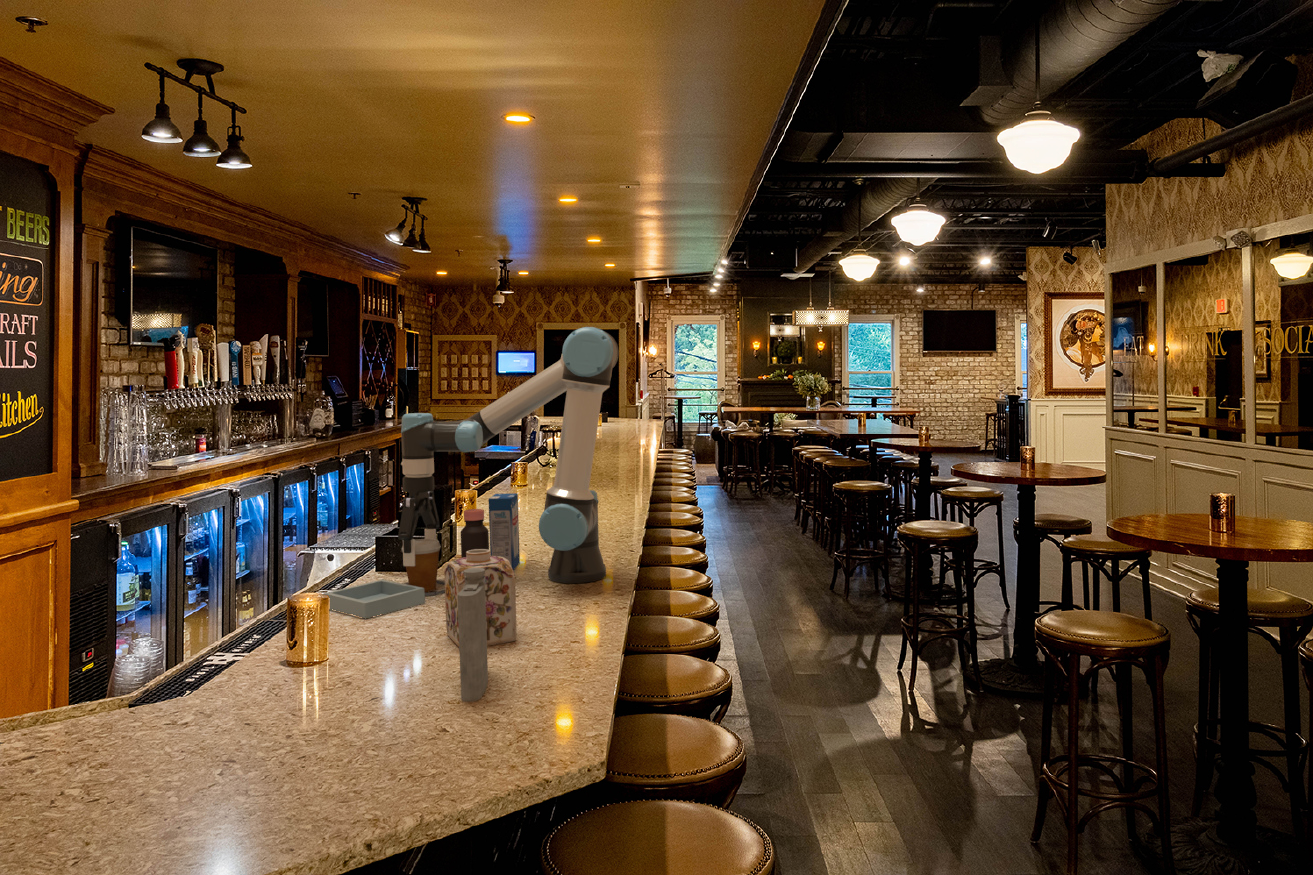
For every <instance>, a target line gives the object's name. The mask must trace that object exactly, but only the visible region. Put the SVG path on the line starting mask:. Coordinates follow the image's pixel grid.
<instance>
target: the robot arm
mask: <svg viewBox="0 0 1313 875" xmlns="http://www.w3.org/2000/svg"><path fill="white" fill-rule="evenodd" d="M561 352H562V353H561V357H560V359H559V360H558V361H556V362H555V363H553V364H552V365H550V366H548V367H547V368H545V369H544V370H542V371H540V372H539V373H537V374H536V375H534V376H533V377H531V378H529V379H527V380H526V381H524V382H523V383H522V384H520V385H518V386H517V387H516V388H513V389H512V390H510V391H509V392H507V393H506V394H504V395H503V396H501V397H500V398H498V399H496V400H494V401H493V402H492V403H490V404H488V405H487V406H485V407H484V408H482V409H481V410H479V411H478V412H476V413H474V414H473V415H471V416H470V417H468V418H466V419H462V420H455V421H454V420H451V421H439V420H434V416H433V414H432V413H428V412H426V413H424V412H414V413H412V412H411V413H405V414H403V415H402V416H401V431H400V435H401V453H402V454H401V458H402V460H401V463H400V465H401V466H402V474H403V475H404V476H403V477H402V490H403V492H405V493H408V494H409V495H408V497H404V498H403V499H402V511H401V516H400V517H401V518H400V522H399V529H398V534H397V538H398V540H401V541H402V547H403V551H402V560H403V562H402V565H403V567H406V566H415V540H416V539H415V538H413V537H414V535H415V531H416V527H417V524H418V520H419V517H420V516H421V518H422V521H423V523H424V526H425V528H424V539H434V540H437V529H440V518H439V514H438V510H437V505H436V501H435V492H434V490H435V477H434V476H433V474H434V473H435V462H434V460H435V459H434V458H435V457H434V452H436V453H437V452H449V453H450V452H453V453H455V452H457V453H459V452H461V453H471V452H478V451H479V450H480V449H481V447H482V446H483V445H484V444H486V443H487V442H488V441H489V440H490V439H492V438H494V437H495V436H496V435H498V434H499V433H501V432H503V431H504V430H506V429H507V428H509V427H510V426H512V425H514V424H515V423H517V422H520V420H522V419H524V418H525V417H527V416H528V415H530V414H531V413H534V412H535V411H536V410H537V409H539V408H541V407H543V406H544V405H546V404H547V403H549V402H550V401H553V399H555V398H557V397H558V396H560V395H562V394H563V393H565V394H566V395H565V402H564V410H563V416H562V425H561V432H560V439H559V446H558V451H557V452H558V454H557V460H556V467H555V475H554V484H553V485H552V486H551V487H549V488H548V489H547V490H546V493H545V494H546V496H545V500H544V501H545V502H544V510H543V512H542V513H541V515H540V517H539V521H538V532H539V535H540V537H541V539H542V540H543V542H545V544H546V545H547V546H549V547H550V548H552V549H553V552H552V556H551V559H550V563H549V564H550V566H548V570H547V572H548V573H547V574H548V579H549V580H550V581H552V582H556V583H562V584H582V583H584V584H585V583H591V582H596V581H601V580H602V579H604V578H606V576H607V567H606V564H605V563H604V559H603V557H602V552H601V549H600V546H599V545H600V543H599V542H600V540H599V538H600V537H599V499H598V498H599V497H598V493H597V492H596V490H591V489H590V485H591V477H592V469H593V468H592V467H593V462H594V456H595V449H596V448H595V447H596V442H597V440H596V439H597V435H598V426H599V420H600V411H601V405H602V398H603V393H604V392H605V391H607V390H608V389H609V388H610V385H611V379H612V372H613V368H614V367H615V366H616V364H617V362H618V359H619V355H620V354H619V346H618V343H617V341H616V340H615V338H614V337H613V336H612V335H611V334H610V333H608V332H607V331H605V330H603V329H601V328H599V327H594V326H584V327H581V328H577V329H575V330H573V331H572V332H571V333H570V334H569V335H568V336H567V338H566V339H565V340H564V343H563V345H562V351H561Z"/></svg>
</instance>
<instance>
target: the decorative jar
mask: <svg viewBox="0 0 1313 875" xmlns="http://www.w3.org/2000/svg"><path fill="white" fill-rule="evenodd" d="M470 568H483V569H485V575H483V576H484V578H485V602H486V632H487V647H489V646H494V645H500V644H506V643H507V644H508V643H512V642H516V640H517V599H516V597H517V594H516V579H515V578H516V577H515V576H516V575H515V573H514V572H515V571H513V569H512V567H511V564H510V562H509V560H507V559H506V558H504V557H499V556H490V549H489V550H487V549H475V550H469V551H467V552H466V557H463V558H461V557H460V558H457V559H456V558H455V559H453V560H451V561H449V562H448V564H447V565H446V567H445V570H444V572H443V573H444V580H445V585H444V588H445V593H444V599H445V601H444V603H445V625H446V626H445V627H446V634H447V636H448V637H449V638H450V639H451V640H452V641H453V642H454V643H455V645H456V646H457V647H458V648H459V624H458V597H457V594H458V593H459V592H460V591H461V590H462V589H463V588H464V586H465V576H464V570H466V569H470Z"/></svg>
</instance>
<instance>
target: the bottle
mask: <svg viewBox="0 0 1313 875" xmlns="http://www.w3.org/2000/svg"><path fill="white" fill-rule="evenodd" d="M463 521H464V522H465V525H464V527H462V529H461V531H460V553H461V554H460V555H461V557H460V558H463V557H466V552H467V551H469V550H475V549H487V550H489V551H490V530H489V529H488V528H487V527H486V526H485V524H484V521H485V510H484V509H483V508H473V509H472V508H471V509H465V510H463Z"/></svg>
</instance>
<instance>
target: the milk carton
mask: <svg viewBox="0 0 1313 875" xmlns="http://www.w3.org/2000/svg"><path fill="white" fill-rule="evenodd" d="M487 499H488V525H489V529H488V531H489V551H490V556H499V557H504V558H506V559H507V560H509V562H510V564H511V567H512V569H513V572H515V570H516V568H517V567H518V566H519V565H520V563H521V561H520V560H521V558H520V556H521V554H520V552H521V551H520V533H519V532H520V528H519V495H518V493H514V492H513V493H495V494H493V495H492V496H490V497H489V498H487Z"/></svg>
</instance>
